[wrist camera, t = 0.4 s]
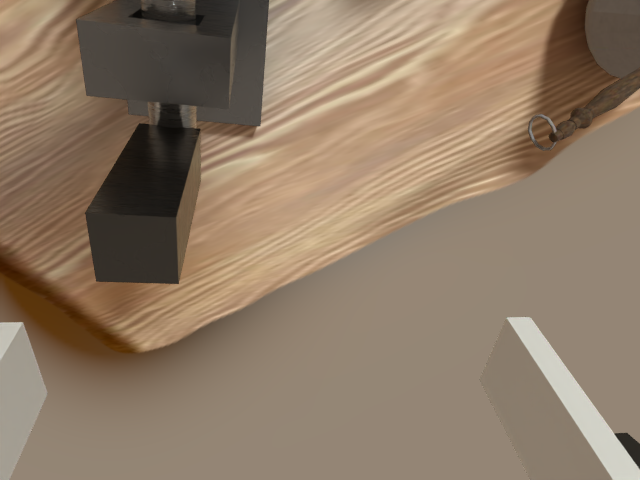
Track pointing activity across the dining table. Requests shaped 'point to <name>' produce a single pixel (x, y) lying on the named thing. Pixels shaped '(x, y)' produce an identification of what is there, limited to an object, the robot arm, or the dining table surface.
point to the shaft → (150, 187)
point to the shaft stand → (179, 58)
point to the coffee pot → (606, 61)
